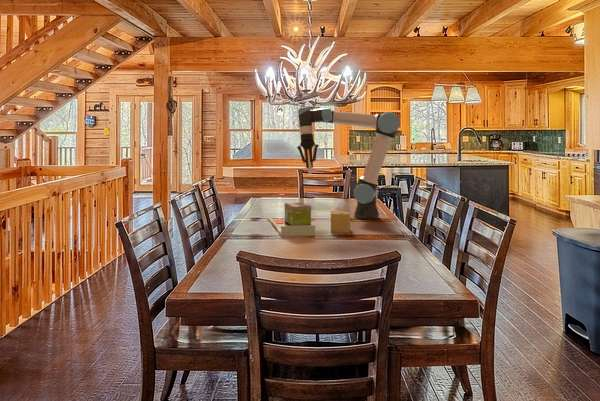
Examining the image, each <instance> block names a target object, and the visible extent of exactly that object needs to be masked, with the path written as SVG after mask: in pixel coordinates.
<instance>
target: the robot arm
mask: <svg viewBox="0 0 600 401" xmlns="http://www.w3.org/2000/svg"><path fill="white" fill-rule="evenodd" d="M297 111H298V115H297V116H298V122H299V123H298V125H299V134H300V145H298V146H296V148H297V150H298V152H299V155H300V157H301V161H302V163H305V167H306V169H307V172H308V175H310V174H313V170H312V168H314V164H313V163H314V162H315V161H317V160H316V158H317V153H318V148H319V144H316V143H315V141H314V134H313V132H314V131H313V130H314V129H313V124H314V123H326V124H337V125H345V126H347V125H348V126H352V127H353V126H355V127H363V128H371V129H374V130H375V132H374V133H375V139H374V142H373V145H372V148H371V151H370V152H369V157H368V160H367V163H366V164H365V169H364V171H363V174H362V176H360V177H359V178H358V180H357V184H356V187H355V188H354V190H353V198H354V199H355V201H356V208H355V211H354V213H353V218H355V219H359V220H360V219H361V220H376V219H379V218H380V212H379V210H378V206H377V193H378V190H377V189H378V187H379V183H378V178H379V175H380V172H381V169H382V167H383V165H384V161H385V159H386V155H387V152H388V150H389V147H390V144H391V141H394V139H395V138H396V135H397V133H398V130H399V129H400V125H401V120H400V118H399V116H398V114H396V113H394V112H391V111H387V112H384V113H377V114H368V113H360V112H359V113H358V112H349V111H339V110H332V109H331V108H329V107H326V108H325V107H324V108H318V109H311V107H310V106H302V107H299V108H298V110H297ZM313 147H314V149H313ZM302 149H303V150H302ZM303 151H304V153H303Z"/></svg>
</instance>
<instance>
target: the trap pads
mask: <svg viewBox="0 0 600 401" xmlns="http://www.w3.org/2000/svg"><path fill="white" fill-rule="evenodd" d="M272 220H273V221H274V222H275V223H276V224H277V225H279V224H280V225H281V224H284V225H285V218H283V219H272Z"/></svg>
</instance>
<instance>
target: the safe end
mask: <svg viewBox="0 0 600 401" xmlns="http://www.w3.org/2000/svg"><path fill="white" fill-rule="evenodd" d="M276 231H277V233H278V234H279V235H280V237H297V236H298V237H300V236H301V237H305V236H306V237H307V236H316V225H315V224H311V225H295V226H285V225H280V229H277V230H276Z"/></svg>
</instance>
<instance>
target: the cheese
mask: <svg viewBox="0 0 600 401" xmlns="http://www.w3.org/2000/svg"><path fill="white" fill-rule="evenodd" d="M350 231H351V212H346V211H339V210H331V211H330V233H335V234H338V233H340V234H341V233H342V234H347V233H350Z"/></svg>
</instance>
